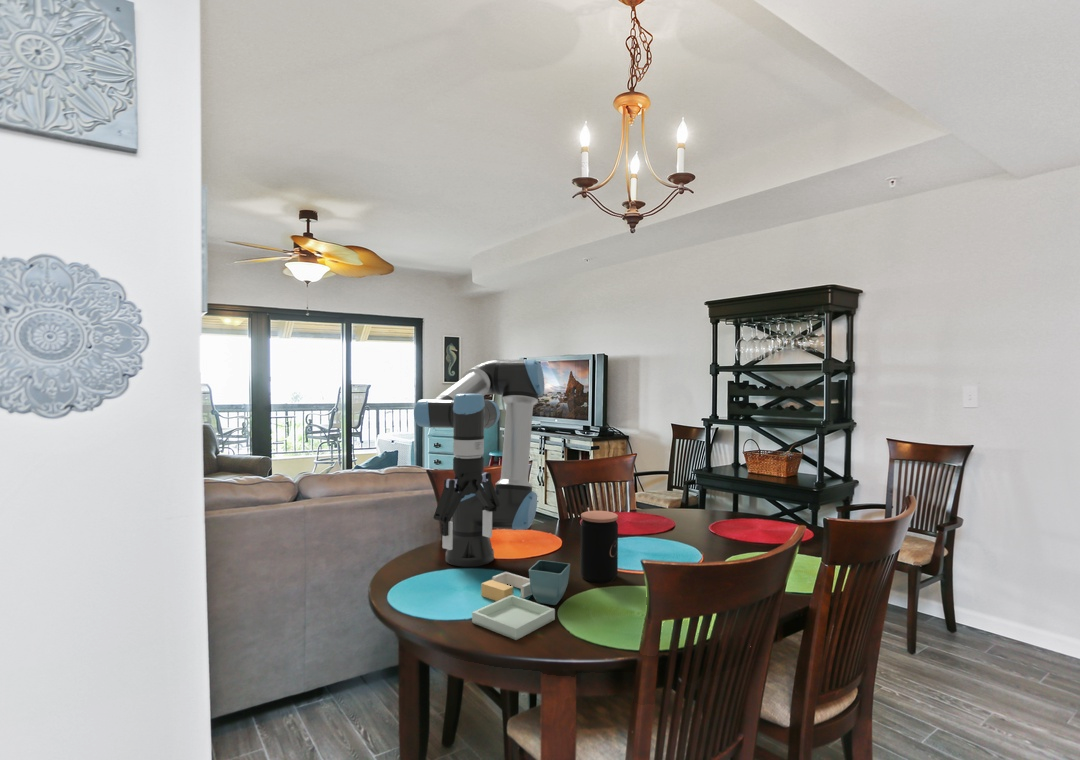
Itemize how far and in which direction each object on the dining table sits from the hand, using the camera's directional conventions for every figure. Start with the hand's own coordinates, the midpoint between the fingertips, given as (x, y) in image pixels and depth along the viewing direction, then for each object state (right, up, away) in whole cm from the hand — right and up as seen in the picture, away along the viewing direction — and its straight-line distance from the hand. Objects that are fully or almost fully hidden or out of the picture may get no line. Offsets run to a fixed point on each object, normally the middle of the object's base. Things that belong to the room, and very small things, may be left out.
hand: (468, 542), depth 140 cm
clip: (+11, -17, +14) cm, 24 cm away
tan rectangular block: (+7, -17, +9) cm, 20 cm away
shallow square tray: (+12, -17, -6) cm, 21 cm away
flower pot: (+20, -17, +6) cm, 27 cm away
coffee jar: (+35, -17, +24) cm, 46 cm away
